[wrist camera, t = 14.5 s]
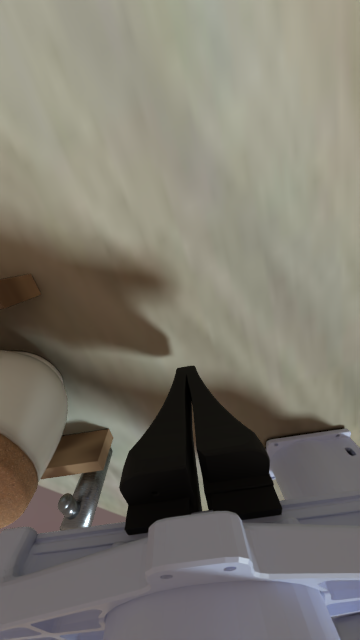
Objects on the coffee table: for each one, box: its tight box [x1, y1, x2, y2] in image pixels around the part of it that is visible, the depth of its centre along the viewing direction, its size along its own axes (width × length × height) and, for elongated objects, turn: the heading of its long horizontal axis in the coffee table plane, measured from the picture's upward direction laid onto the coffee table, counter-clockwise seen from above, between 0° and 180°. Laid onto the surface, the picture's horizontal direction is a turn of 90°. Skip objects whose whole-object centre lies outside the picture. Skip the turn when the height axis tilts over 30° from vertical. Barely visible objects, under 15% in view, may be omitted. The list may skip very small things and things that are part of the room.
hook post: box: [58, 448, 112, 531], centre depth 17 cm, size 2×4×6 cm, turn 9°
